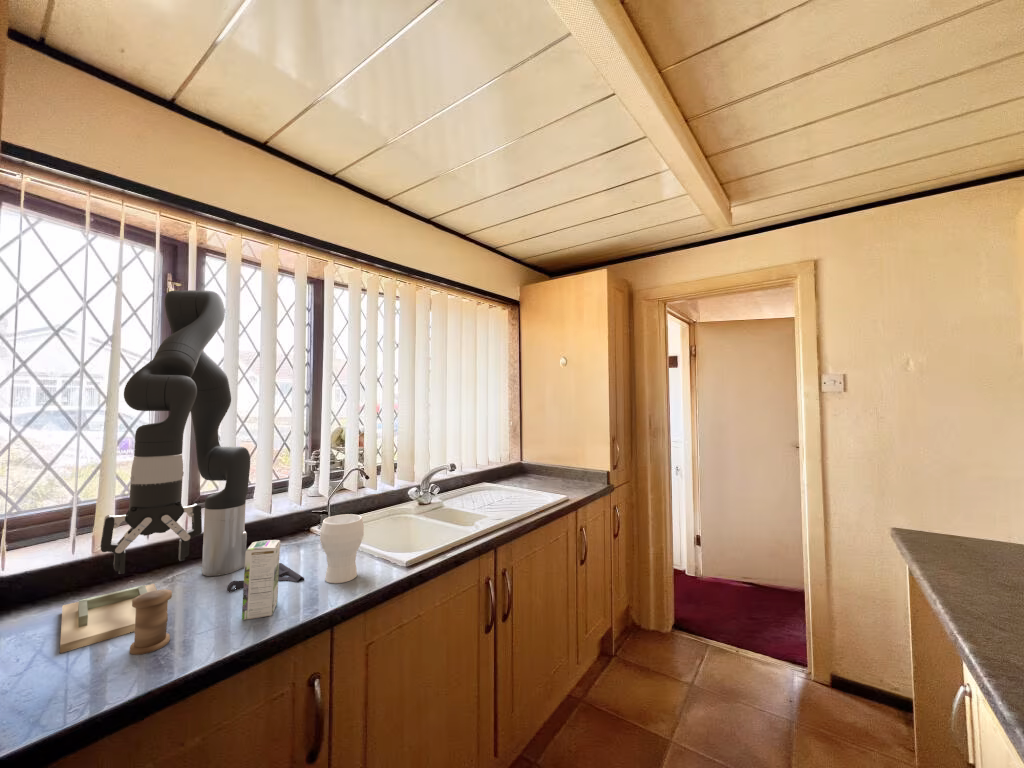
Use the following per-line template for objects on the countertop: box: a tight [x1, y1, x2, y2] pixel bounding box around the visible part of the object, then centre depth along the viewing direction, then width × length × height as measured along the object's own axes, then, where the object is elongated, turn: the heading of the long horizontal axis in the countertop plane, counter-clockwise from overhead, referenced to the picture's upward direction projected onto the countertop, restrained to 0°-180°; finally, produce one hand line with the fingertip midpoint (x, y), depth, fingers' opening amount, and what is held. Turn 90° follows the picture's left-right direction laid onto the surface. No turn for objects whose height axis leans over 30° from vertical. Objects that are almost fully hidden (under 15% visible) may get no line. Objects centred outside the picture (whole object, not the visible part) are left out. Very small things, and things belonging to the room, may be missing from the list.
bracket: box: [226, 562, 305, 593], centre depth 104 cm, size 14×15×3 cm
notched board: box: [59, 583, 169, 654], centre depth 87 cm, size 15×21×4 cm
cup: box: [319, 513, 365, 584], centre depth 107 cm, size 11×11×15 cm
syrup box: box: [241, 539, 281, 621], centre depth 89 cm, size 6×6×14 cm
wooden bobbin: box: [129, 589, 173, 656], centre depth 77 cm, size 6×6×9 cm
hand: (152, 565), depth 77 cm, fingers open, 8 cm apart
